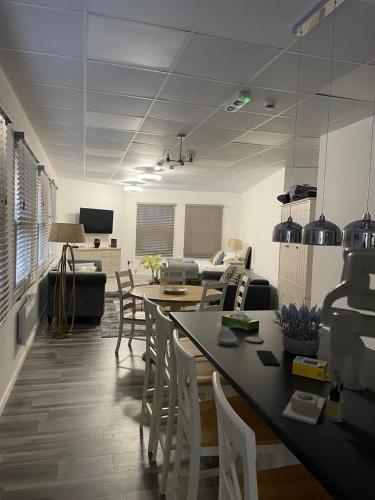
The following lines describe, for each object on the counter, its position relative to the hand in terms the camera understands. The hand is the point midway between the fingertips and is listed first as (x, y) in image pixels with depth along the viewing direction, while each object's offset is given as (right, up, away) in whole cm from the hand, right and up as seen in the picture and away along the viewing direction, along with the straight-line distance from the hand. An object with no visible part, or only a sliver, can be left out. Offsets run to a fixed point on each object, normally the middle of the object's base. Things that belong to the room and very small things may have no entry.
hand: (336, 396), depth 129 cm
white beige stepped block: (-8, -7, +8) cm, 13 cm away
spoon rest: (-29, -3, +89) cm, 94 cm away
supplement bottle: (0, -8, +1) cm, 8 cm away
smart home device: (-11, -5, +61) cm, 63 cm away
